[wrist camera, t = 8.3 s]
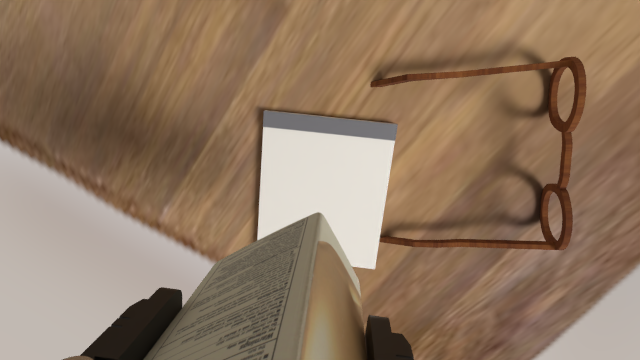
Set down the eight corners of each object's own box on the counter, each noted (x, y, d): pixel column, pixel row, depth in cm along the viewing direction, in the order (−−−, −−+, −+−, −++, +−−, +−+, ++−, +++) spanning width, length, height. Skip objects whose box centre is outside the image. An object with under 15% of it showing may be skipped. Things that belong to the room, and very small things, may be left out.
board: (265, 110, 25) (263, 110, 25) (396, 123, 25) (397, 124, 24) (258, 251, 29) (256, 255, 28) (374, 265, 28) (374, 269, 27)
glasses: (540, 231, 27) (583, 261, 22) (377, 239, 28) (384, 270, 23) (553, 60, 24) (607, 51, 19) (369, 78, 25) (375, 74, 20)
